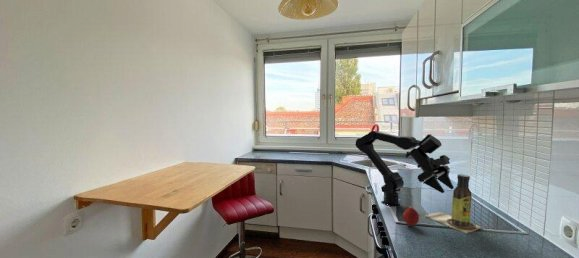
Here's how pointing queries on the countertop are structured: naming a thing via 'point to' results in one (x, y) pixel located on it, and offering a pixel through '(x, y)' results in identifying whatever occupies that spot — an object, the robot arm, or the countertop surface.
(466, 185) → the sauce bottle
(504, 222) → the countertop surface
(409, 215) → the onion
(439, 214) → the beige flat board
